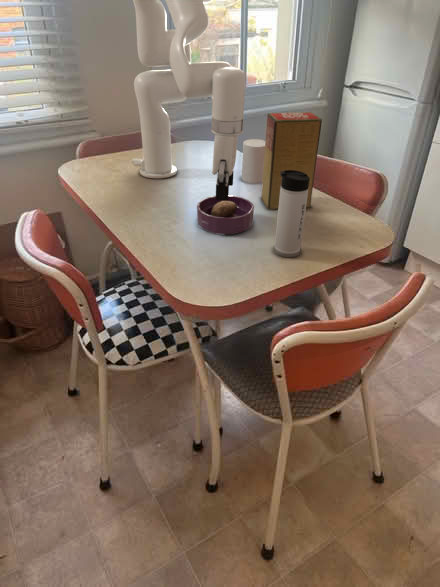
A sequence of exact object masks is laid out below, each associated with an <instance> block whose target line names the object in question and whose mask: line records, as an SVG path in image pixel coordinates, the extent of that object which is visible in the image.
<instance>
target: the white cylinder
mask: <svg viewBox="0 0 440 587" xmlns="http://www.w3.org/2000/svg"><path fill="white" fill-rule="evenodd" d="M265 142H266V140H264V139H257V138H251V139H246V140H244V141H243V144H242V162H241V163H242V165H241V180H242V181H243V182H245V183H248V184H262V183H263V169H264V155H265Z"/></svg>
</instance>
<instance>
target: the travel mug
mask: <svg viewBox="0 0 440 587" xmlns="http://www.w3.org/2000/svg"><path fill="white" fill-rule="evenodd" d="M280 175H281V177H282V180H281V189H280V198H279V208H278V209H277V219H276V228H275V239H274V248H273V249H274V253H275V254H276V255H278V256H279V257H283V258H295V257H298V256H299V255H300V254H301V247H302V239H303V232H304V227H305V226H304V224H305V217H306V212H307V211H306V210H307V208H306V204H307V196H308V189H309V180H310V178H309V177H308V176H307V174H305V173H303V172H300V171H295V170H285V171H281V173H280Z"/></svg>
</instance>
